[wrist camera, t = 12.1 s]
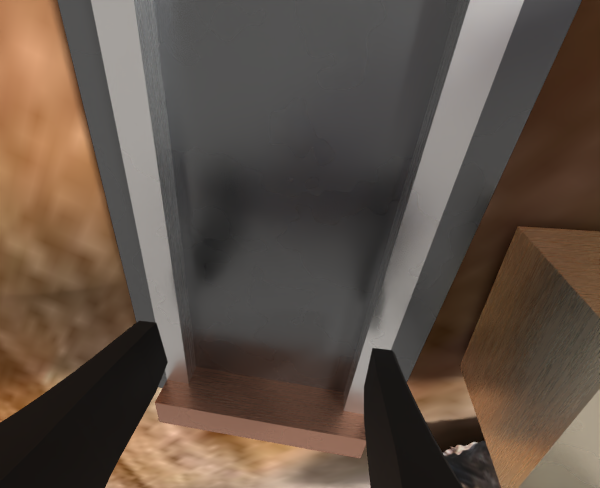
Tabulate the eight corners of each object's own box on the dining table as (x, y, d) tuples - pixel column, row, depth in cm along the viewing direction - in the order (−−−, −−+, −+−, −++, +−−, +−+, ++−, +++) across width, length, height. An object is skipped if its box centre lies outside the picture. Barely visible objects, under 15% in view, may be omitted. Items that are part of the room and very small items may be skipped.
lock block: (659, 226, 10) (886, 363, 6) (557, 375, 14) (647, 521, 10) (521, 218, 10) (638, 341, 6) (459, 365, 14) (506, 502, 10)
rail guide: (697, -299, 5) (944, -534, 3) (384, 415, 17) (390, 472, 14) (-3, -344, 6) (-211, -569, 4) (157, 376, 17) (130, 424, 15)
